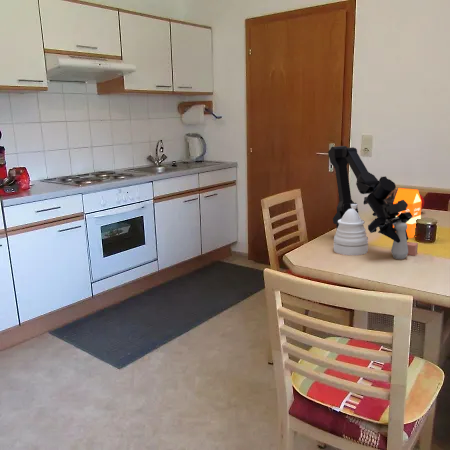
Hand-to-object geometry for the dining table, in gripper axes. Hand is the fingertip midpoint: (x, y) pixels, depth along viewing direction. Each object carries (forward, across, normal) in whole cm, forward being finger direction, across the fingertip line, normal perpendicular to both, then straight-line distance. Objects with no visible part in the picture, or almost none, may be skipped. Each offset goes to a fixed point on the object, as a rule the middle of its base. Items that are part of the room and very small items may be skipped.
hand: (403, 241), depth 162 cm
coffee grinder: (-26, +47, +35) cm, 64 cm away
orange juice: (-10, +29, +19) cm, 36 cm away
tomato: (-27, +67, +37) cm, 81 cm away
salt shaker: (+4, 0, +6) cm, 7 cm away
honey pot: (-8, -7, +18) cm, 21 cm away
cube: (+3, +7, +6) cm, 10 cm away
